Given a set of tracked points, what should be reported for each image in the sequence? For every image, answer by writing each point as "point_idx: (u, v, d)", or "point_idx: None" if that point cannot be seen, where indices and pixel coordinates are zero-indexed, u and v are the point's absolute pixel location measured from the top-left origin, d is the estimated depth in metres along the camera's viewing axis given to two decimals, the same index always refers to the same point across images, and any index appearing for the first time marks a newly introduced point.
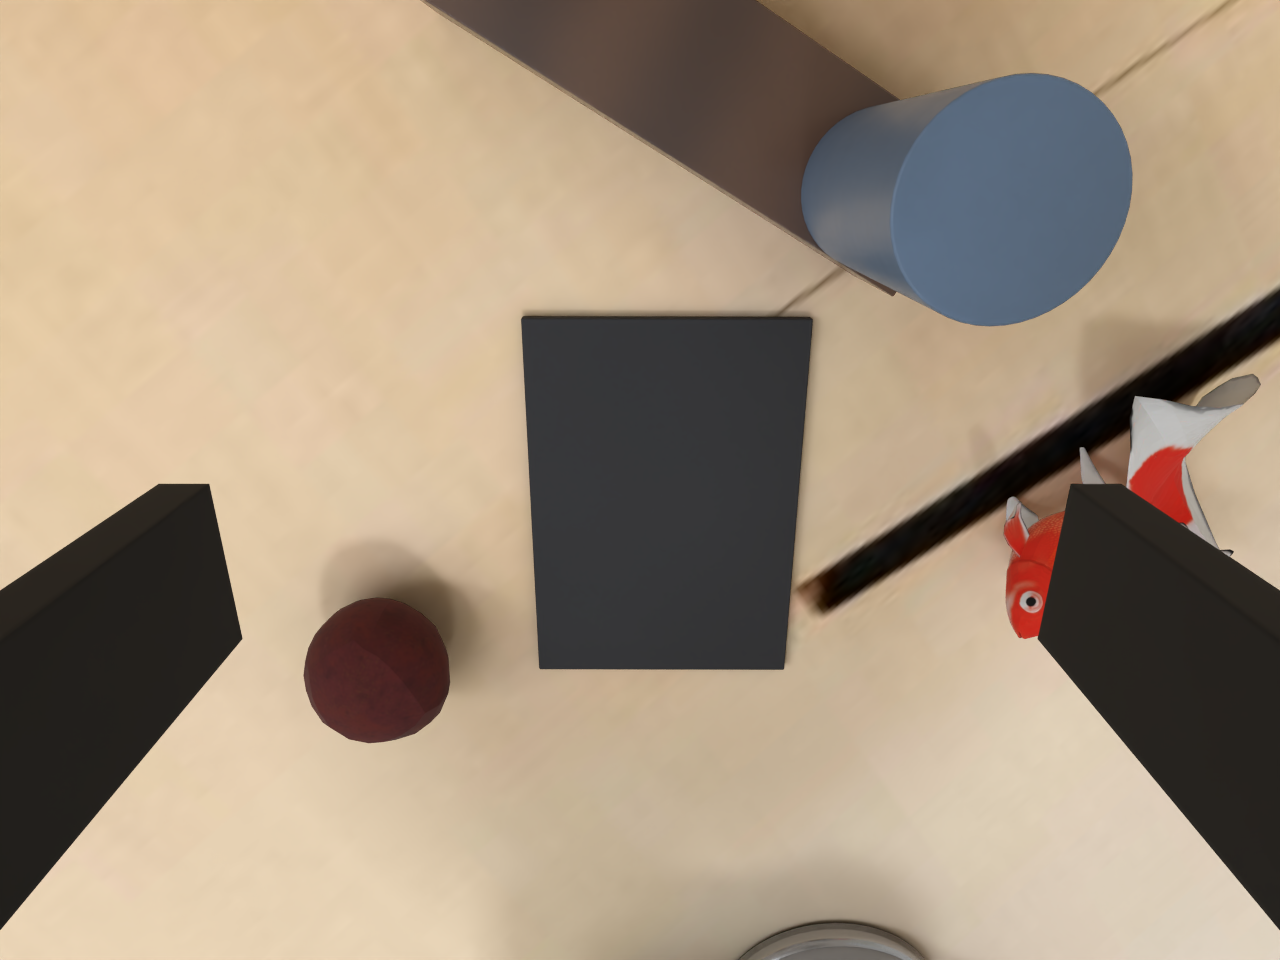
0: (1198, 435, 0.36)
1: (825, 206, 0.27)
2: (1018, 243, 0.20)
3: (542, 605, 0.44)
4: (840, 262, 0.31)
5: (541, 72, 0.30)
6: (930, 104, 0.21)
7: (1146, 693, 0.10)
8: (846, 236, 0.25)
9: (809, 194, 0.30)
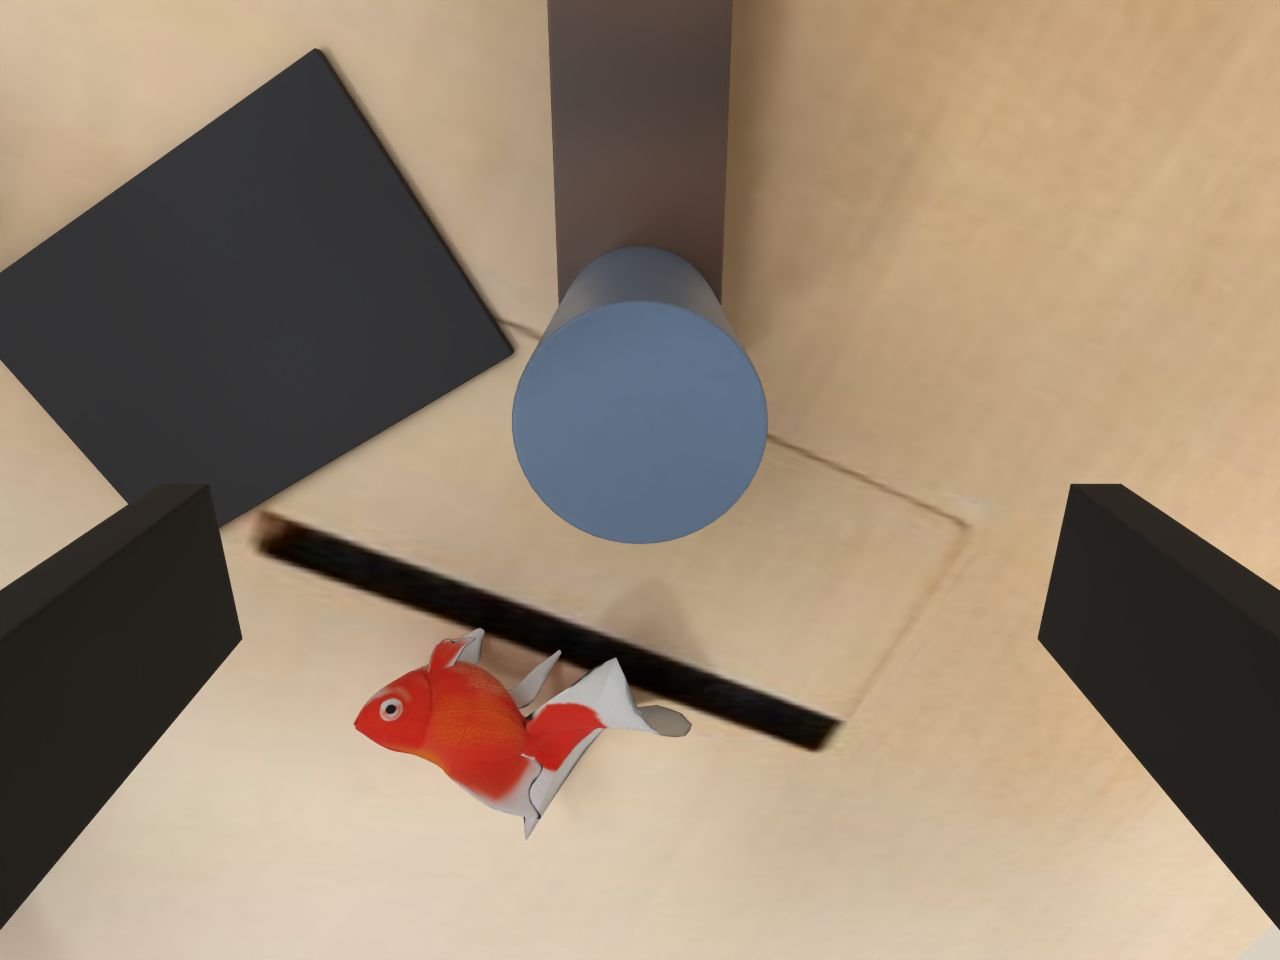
0: (618, 724, 0.38)
1: (581, 280, 0.25)
2: (615, 459, 0.19)
3: (28, 264, 0.34)
4: None
5: None
6: (690, 299, 0.19)
7: (1146, 693, 0.10)
8: (556, 313, 0.23)
9: (593, 264, 0.27)
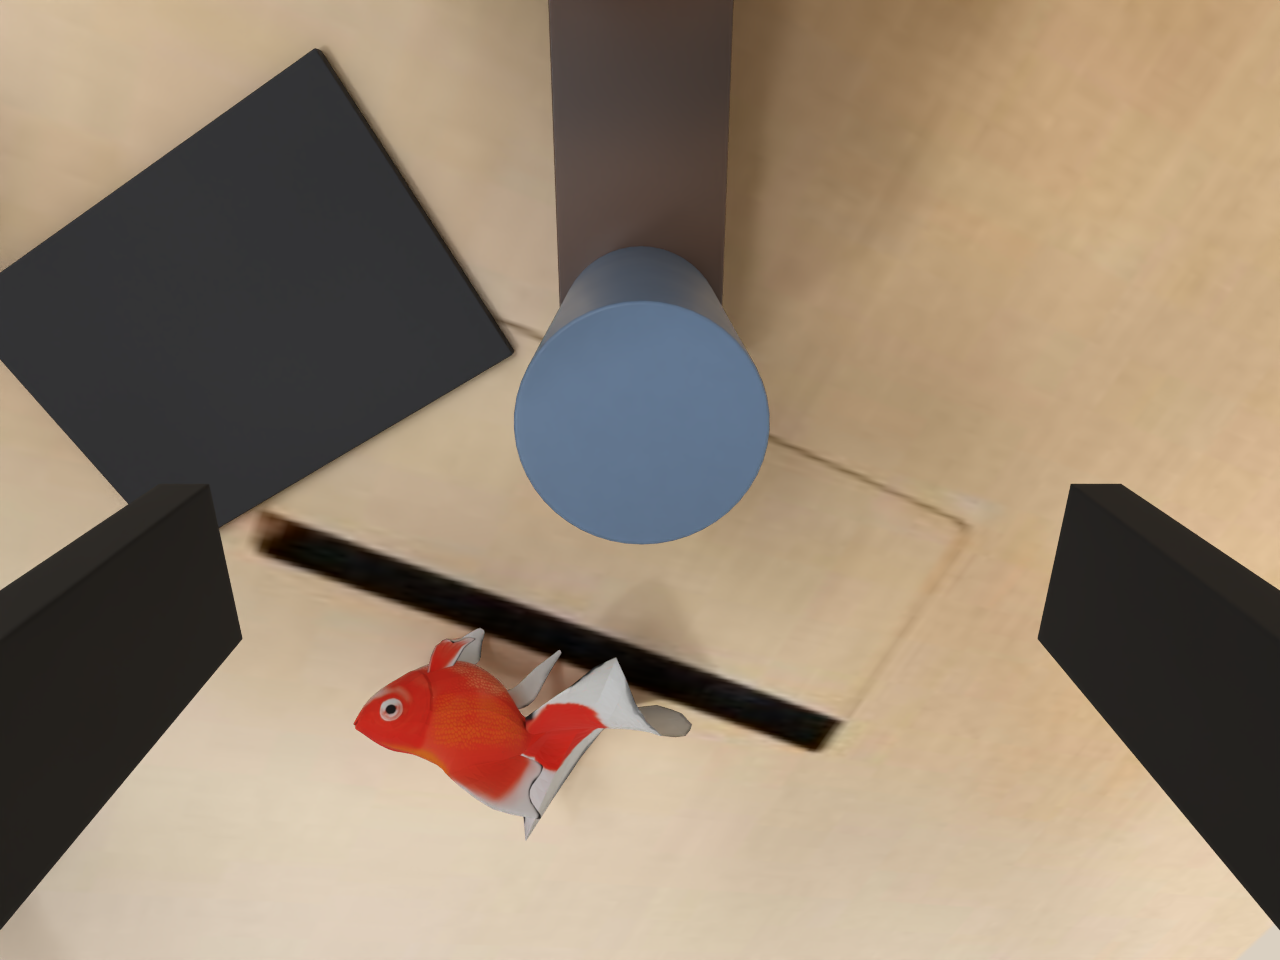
0: (618, 724, 0.38)
1: (582, 281, 0.25)
2: (616, 459, 0.19)
3: (28, 264, 0.34)
4: None
5: None
6: (691, 300, 0.19)
7: (1146, 693, 0.10)
8: (557, 313, 0.23)
9: (594, 265, 0.27)
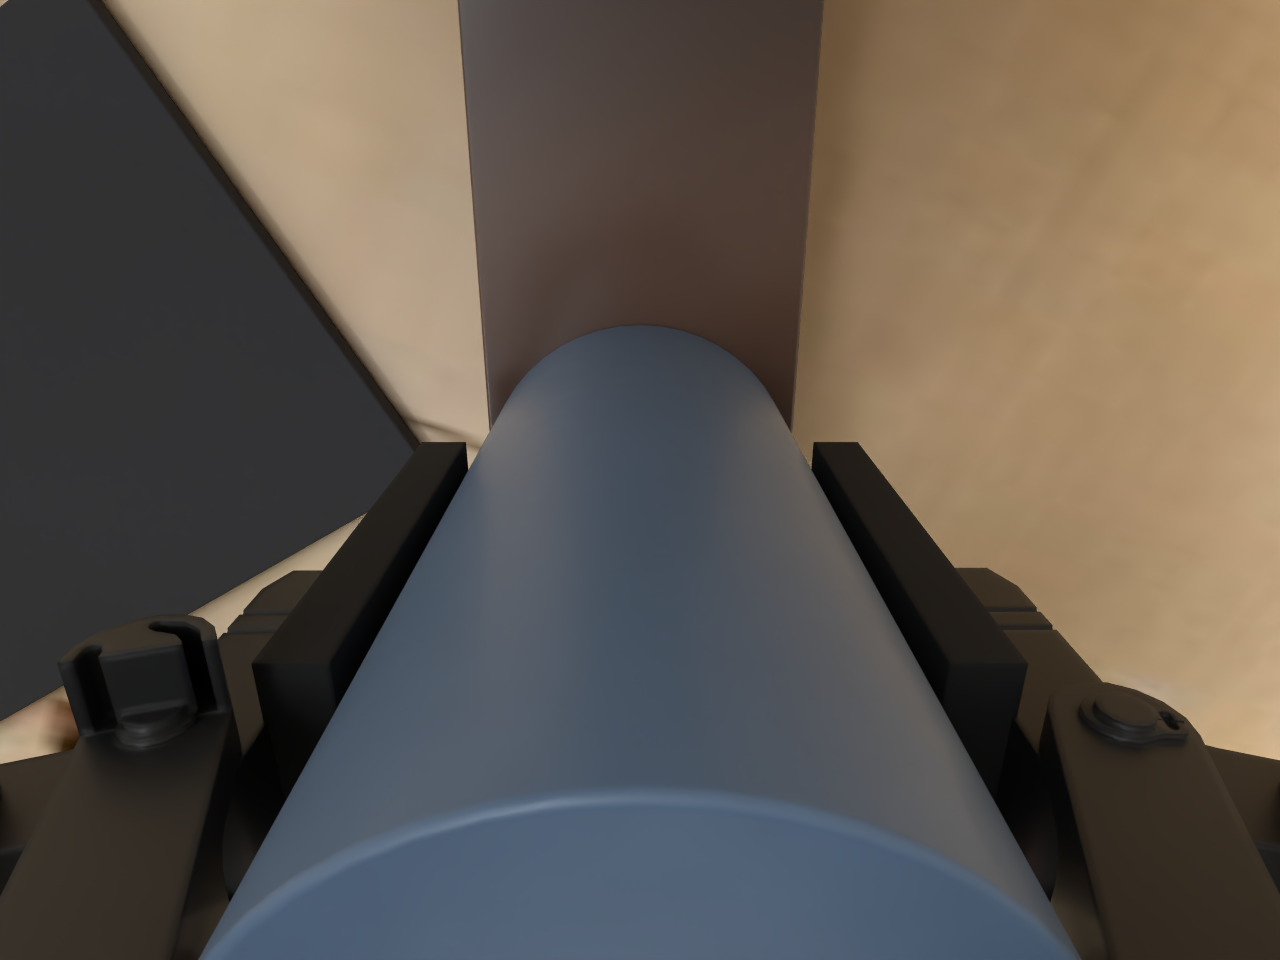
0: None
1: (508, 430, 0.11)
2: None
3: None
4: None
5: None
6: (813, 644, 0.06)
7: None
8: (430, 544, 0.09)
9: (546, 370, 0.14)
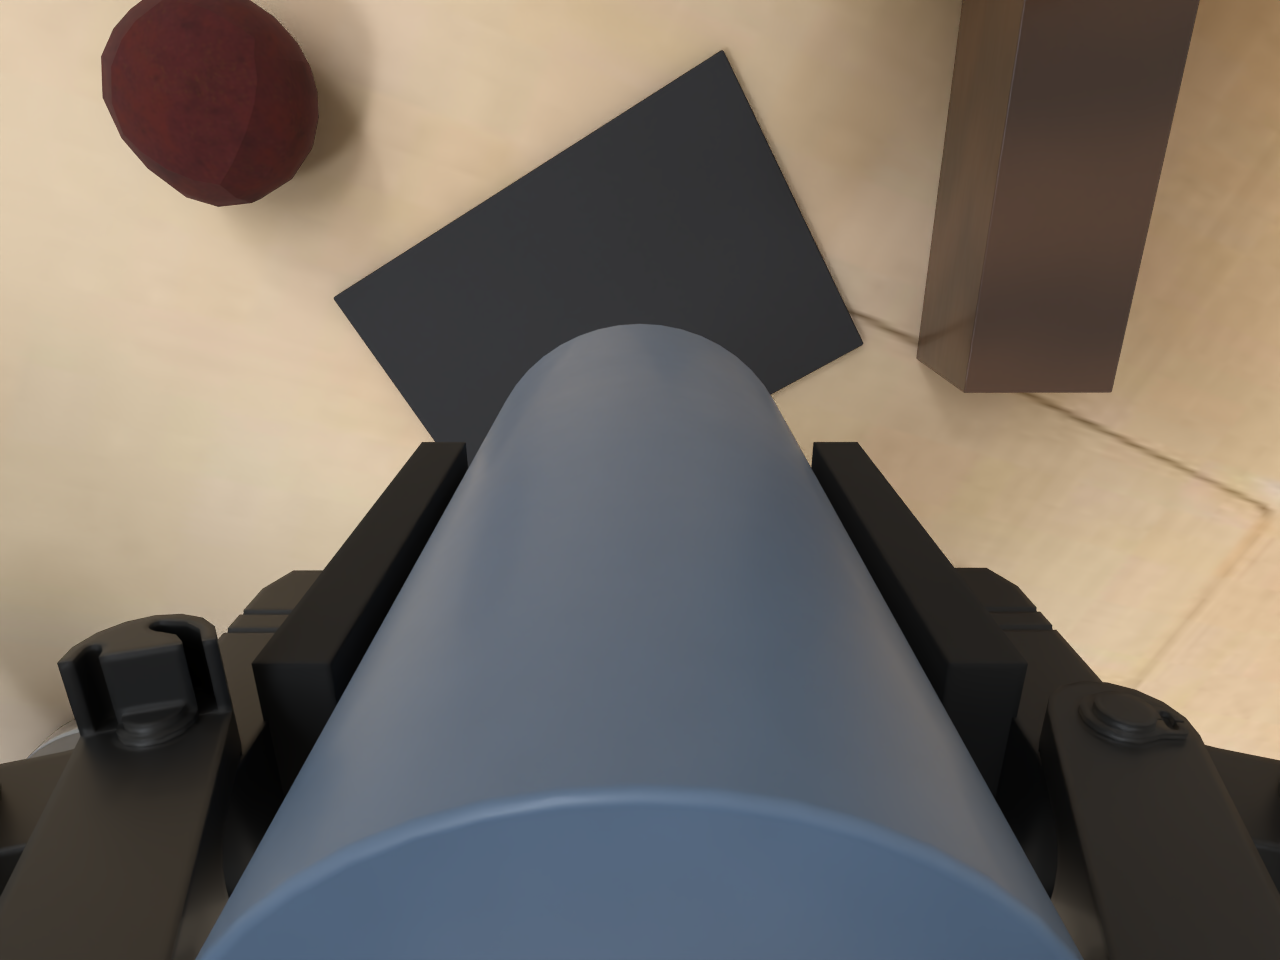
0: None
1: (507, 429, 0.11)
2: None
3: (412, 257, 0.36)
4: None
5: None
6: (813, 642, 0.06)
7: None
8: (429, 542, 0.09)
9: (546, 369, 0.14)
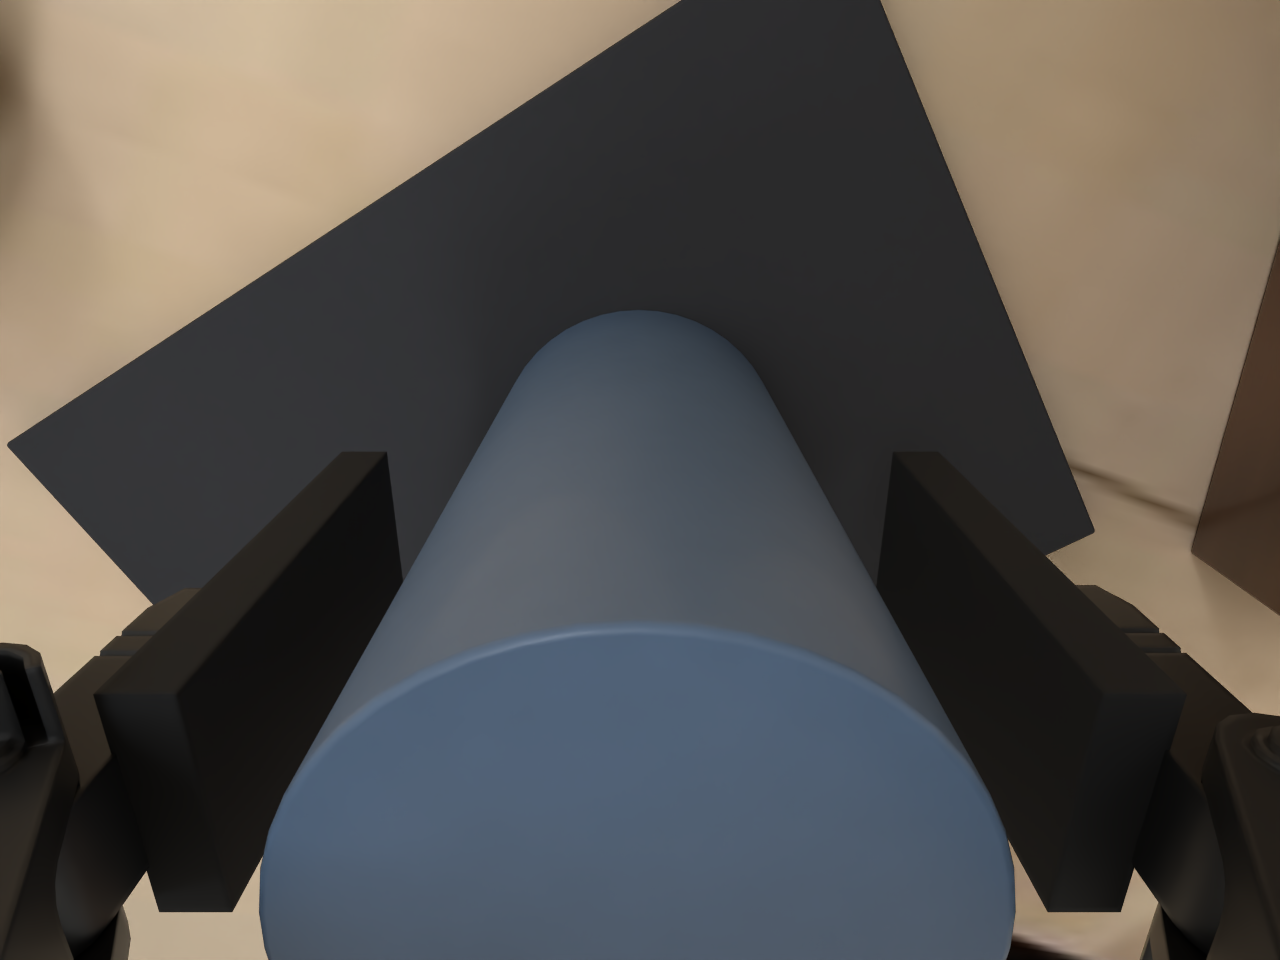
0: None
1: (521, 398, 0.12)
2: None
3: (160, 364, 0.17)
4: None
5: None
6: (776, 544, 0.07)
7: (932, 631, 0.12)
8: (455, 491, 0.10)
9: (553, 349, 0.15)
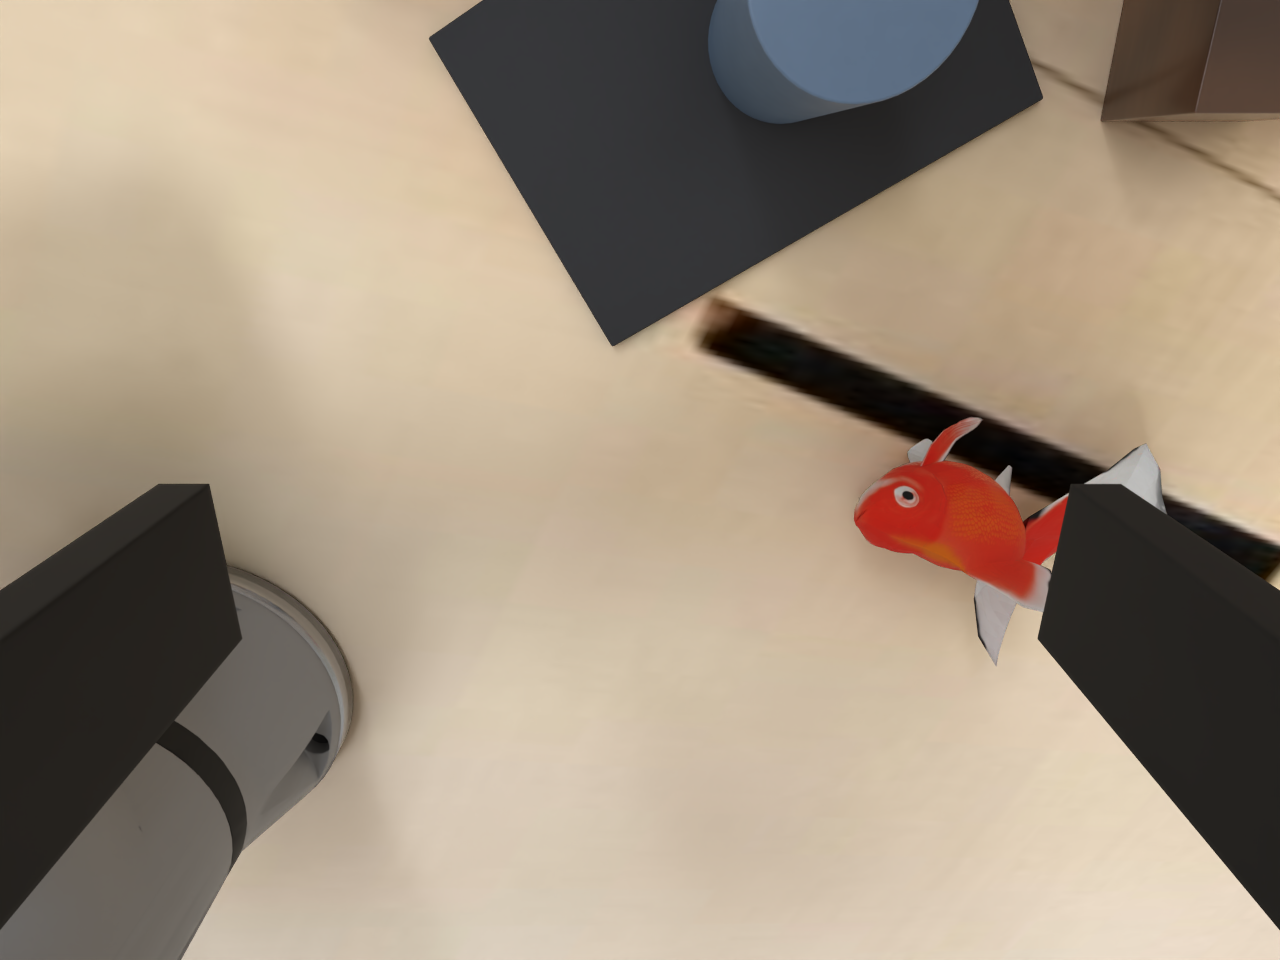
0: None
1: None
2: (839, 5, 0.20)
3: None
4: (710, 34, 0.30)
5: None
6: None
7: (1146, 693, 0.10)
8: None
9: None
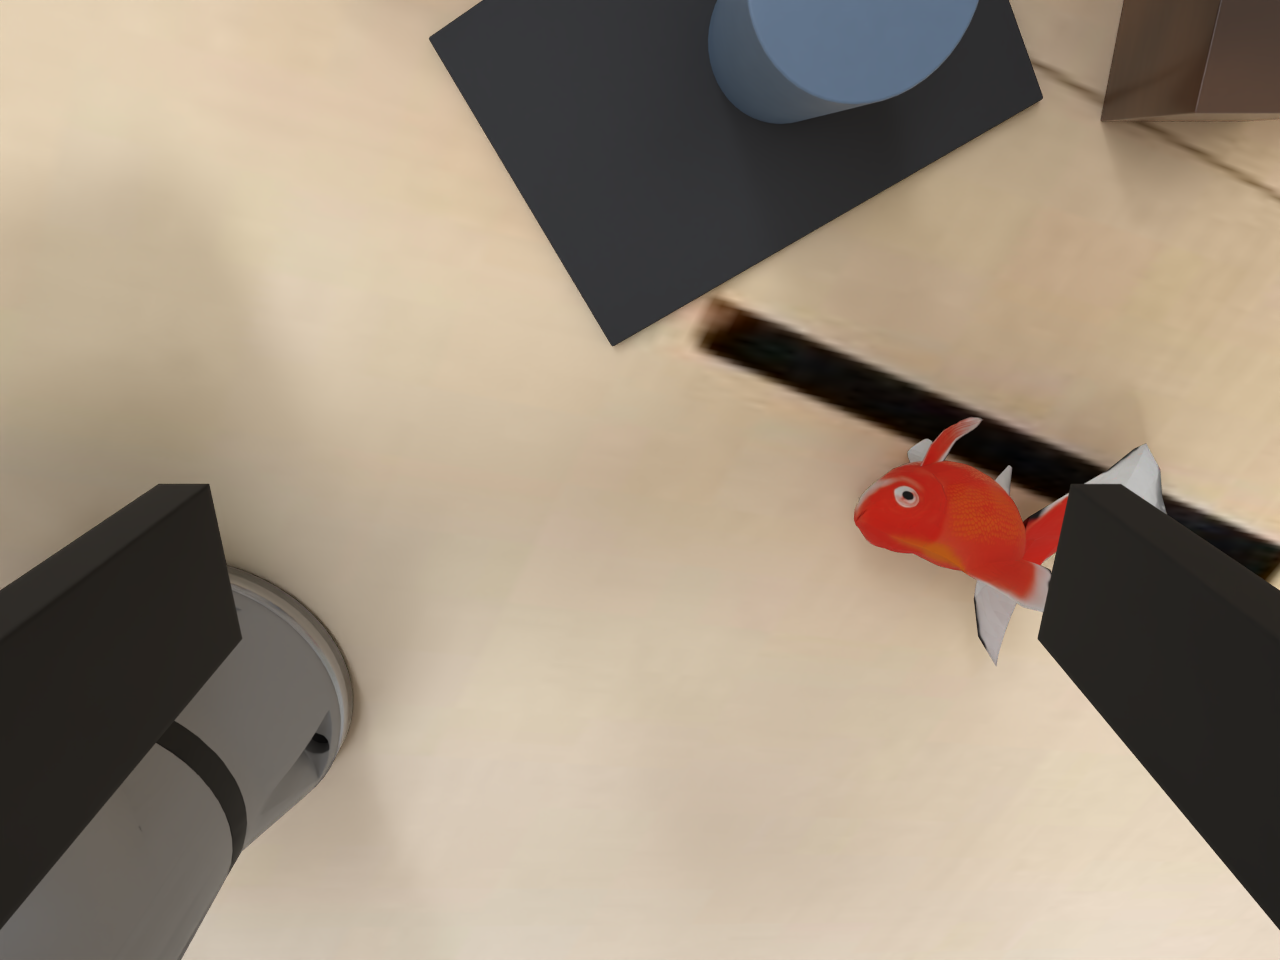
0: None
1: None
2: (839, 5, 0.20)
3: None
4: (710, 34, 0.30)
5: None
6: None
7: (1146, 693, 0.10)
8: None
9: None
